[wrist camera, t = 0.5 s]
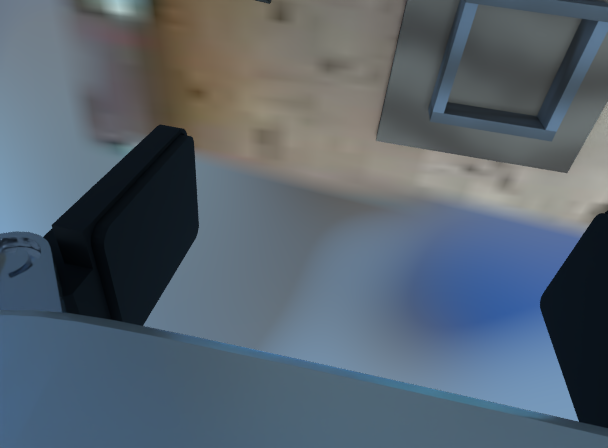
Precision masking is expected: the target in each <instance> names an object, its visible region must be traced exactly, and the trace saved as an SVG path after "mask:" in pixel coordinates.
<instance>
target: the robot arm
mask: <svg viewBox="0 0 608 448" xmlns="http://www.w3.org/2000/svg"><path fill="white" fill-rule="evenodd" d="M198 228H199V221H198V203H197V187H196V170H195V153H194V140H193V138H192V137H191V136H187V133H186V131H185V130H184V129H182V128H176V127H171V126H165V125H159V126H157V127H156V128H155V129H154V130H153V131H152V132H151V133H150V134H149V135H147V136H146V137H145V138H144V139H143V140H142V141H141V142H140V143H139V144H138V145H137V146H136V147H135V148H134V149H133V150H131V151H130V152H129V153H128V154H127V155H126V156H125V157H124V158H123V159H122V160H121V161H120V162H119V163H118V164H117V165H115V166H114V167H113V168H112V169H111V170H110V171H109V172H108V173H107V174H106V175H105V176H104V177H103V178H102V179H100V180H99V181H98V182H97V184H95V185H94V186H93V187H92V188H91V189H90V190H89V191H88V192H87V193H86V194H84V195H83V196H82V197H81V198H80V199H79V200H78V201H77V202H76V203H75V204H74V205H73V206H72V207H71V208H69V209H68V211H66V212H65V213H64V214H63V215H62V216H61V217H60V218H59V219H58V220H57V221H56V222H55V223H53V224H52V229H51V230H50V231H49V232H48V233H47V234H46V235H45V236H44V237H42V236H40V235H37V234H34V233H30V232H9V233H2V234H0V448H608V211H607V212H605V213H601V214H598V215H597V216H596V217H595V218H594V219H593V221H592V222H591V224H590V225H589V227H588V228H587V230H586V231H585V233H584V234H583V235H582V237H581V238H580V240H579V241H578V243H577V244H576V246H575V247H574V249H573V250H572V252H571V253H570V255H569V256H568V258H567V259H566V261H565V262H564V264H563V265H562V266H561V268H560V269H559V271H558V272H557V274H556V275H555V277H554V278H553V280H552V281H551V283H550V284H549V286H548V287H547V289H546V290H545V291H544V293H543V295H542V297H541V301H540V308H541V312H542V315H543V318H544V321H545V324H546V327H547V330H548V333H549V335H550V338H551V341H552V344H553V347H554V350H555V353H556V356H557V359H558V362H559V364H560V367H561V370H562V373H563V376H564V379H565V382H566V385H567V388H568V391H569V394H570V397H571V400H572V403H573V405H574V408H575V411H576V414H577V417H578V420H579V422H577V421H573V420H568V419H564V418H560V417H555V416H551V415H547V414H542V413H538V412H533V411H529V410H524V409H520V408H516V407H512V406H507V405H503V404H498V403H494V402H490V401H485V400H481V399H476V398H472V397H467V396H463V395H458V394H454V393H449V392H445V391H441V390H436V389H432V388H427V387H423V386H418V385H414V384H409V383H404V382H400V381H396V380H391V379H387V378H382V377H377V376H373V375H369V374H364V373H360V372H355V371H351V370H346V369H342V368H337V367H332V366H328V365H324V364H319V363H314V362H310V361H305V360H301V359H296V358H291V357H287V356H282V355H278V354H273V353H268V352H263V351H259V350H254V349H249V348H245V347H241V346H236V345H232V344H227V343H222V342H218V341H213V340H208V339H204V338H199V337H195V336H190V335H184V334H180V333H175V332H170V331H165V330H160V329H155V328H150V327H145V326H143V325H144V323H145V321H146V320H147V318H148V316H149V315H150V313H151V311H152V309H153V308H154V306H155V305H156V303H157V302H158V300H159V298H160V297H161V295H162V293H163V292H164V290H165V288H166V286H167V285H168V283H169V282H170V280H171V278H172V277H173V275H174V273H175V272H176V270H177V268H178V267H179V265H180V263H181V262H182V260H183V258H184V257H185V255H186V253H187V252H188V250H189V248H190V247H191V245H192V243H193V242H194V240H195V238H196V236H197V233H198Z"/></svg>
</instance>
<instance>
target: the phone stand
mask: <svg viewBox="0 0 608 448" xmlns="http://www.w3.org/2000/svg"><path fill="white" fill-rule="evenodd" d="M256 1H260V2H265V3H269V4H270V3H271V0H256Z"/></svg>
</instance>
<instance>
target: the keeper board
mask: <svg viewBox="0 0 608 448" xmlns="http://www.w3.org/2000/svg"><path fill="white" fill-rule="evenodd" d="M607 101H608V0H407V2H406V6H405V11H404V15H403V20H402V24H401V29H400V33H399V38H398V42H397V47H396V51H395V56H394V60H393V65H392V69H391V74H390V78H389V83H388V87H387V92H386V96H385V101H384V105H383V110H382V114H381V119H380V123H379V128H378V132H377V138H376V141H381V142H386V143H392V144H398V145H404V146H410V147H416V148H422V149H428V150H434V151H440V152H445V153H451V154H457V155H463V156H469V157H475V158H481V159H487V160H493V161H499V162H505V163H510V164H516V165H522V166H528V167H534V168H540V169H546V170H552V171H558V172H564V173H568V171H569V169H570V167H571V165H572V164H573V162H574V160H575V158H576V157H577V155H578V153H579V151H580V149H581V148H582V146H583V144H584V142H585V140H586V139H587V137H588V135H589V133H590V132H591V130H592V128H593V126H594V124H595V123H596V121H597V119H598V117H599V116H600V114H601V112H602V110H603V108H604V107H605V105H606V103H607Z"/></svg>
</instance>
